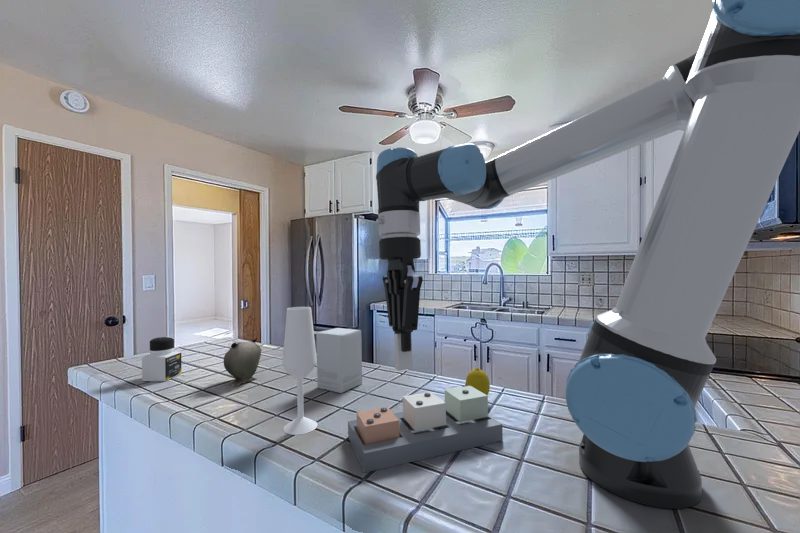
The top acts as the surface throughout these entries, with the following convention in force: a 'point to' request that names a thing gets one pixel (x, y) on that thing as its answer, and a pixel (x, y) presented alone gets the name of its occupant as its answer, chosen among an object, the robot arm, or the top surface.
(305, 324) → the champagne flute
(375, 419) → the tile three
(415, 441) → the console
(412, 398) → the tile two
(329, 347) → the supplement box
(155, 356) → the medicine bottle
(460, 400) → the tile one
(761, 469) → the top surface
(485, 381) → the lemon
